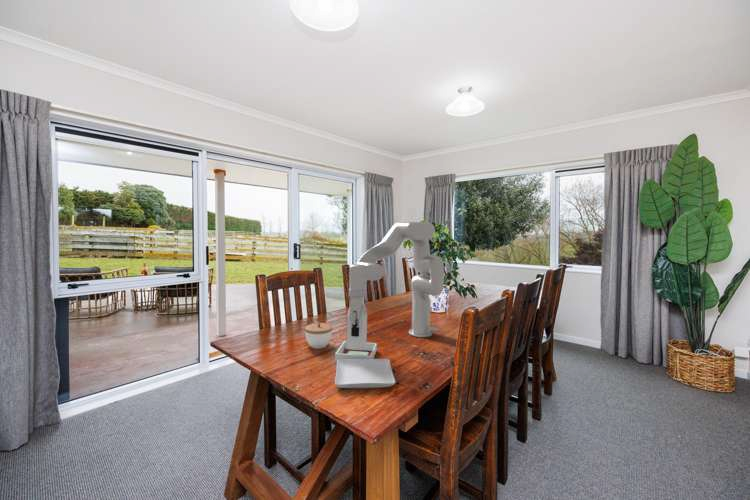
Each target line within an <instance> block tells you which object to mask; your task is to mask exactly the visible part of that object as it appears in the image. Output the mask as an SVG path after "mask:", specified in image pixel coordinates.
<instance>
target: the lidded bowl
mask: <svg viewBox="0 0 750 500" xmlns="http://www.w3.org/2000/svg"><path fill="white" fill-rule="evenodd" d="M304 329H305V330H304V331H305V333H304V334H305V340H306V343H307V344H308V345H309V346H310V348H312V349H316V350H320V349H324V348H326V347H327V345H329V343H330V342H331V339H332V336H333V325H331V324H329V323H326V322H314V323H310V324H308V325H306V326H305V328H304Z"/></svg>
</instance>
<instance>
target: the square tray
mask: <svg viewBox="0 0 750 500" xmlns="http://www.w3.org/2000/svg"><path fill="white" fill-rule="evenodd" d="M377 344H378V343H376V342H367V344H366V346H365V348H364V349H363V350H362V351H365V352H368V351H369V352H371V353H370V355H367V356H366V355H354V354H347V353H344V352H345V350H348V349H347V340H344V341H343V342H342V343H341V345H340V346H339V347H338V348H337V351H335V353H334V362H335V363H337V361H338V360H342V359H375V355H376V353H377V350H378V349H377V348H378V345H377Z"/></svg>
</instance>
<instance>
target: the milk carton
mask: <svg viewBox="0 0 750 500" xmlns="http://www.w3.org/2000/svg"><path fill="white" fill-rule="evenodd" d="M349 307H350V305H349ZM349 307H348V308H349ZM366 307H367V305H366V304H365V303H364V304H363V310H362V313H361V317H360V321H359V325H358V327H359V336H358V337H355V336H351V326H352V319H351V320H349V309H348V311H347V315H346V316H347V317H346V321H347V322H346V341H347V349H346V350H351V351H364V350H363V349H364V348H365V346H366V344H367V343H368V341H367V340H368V339H367V337H368V336H367V335H368V334H367V333H368V330H367V329H368V310H367V308H366ZM356 320H358V318H357V315H356ZM356 323H357V321H356Z"/></svg>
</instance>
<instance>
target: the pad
mask: <svg viewBox="0 0 750 500" xmlns="http://www.w3.org/2000/svg"><path fill="white" fill-rule="evenodd" d="M369 352H370V351H369ZM369 352H368V351H361V350H348V352H347V353H346V354H354V355H366V356H369Z"/></svg>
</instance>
